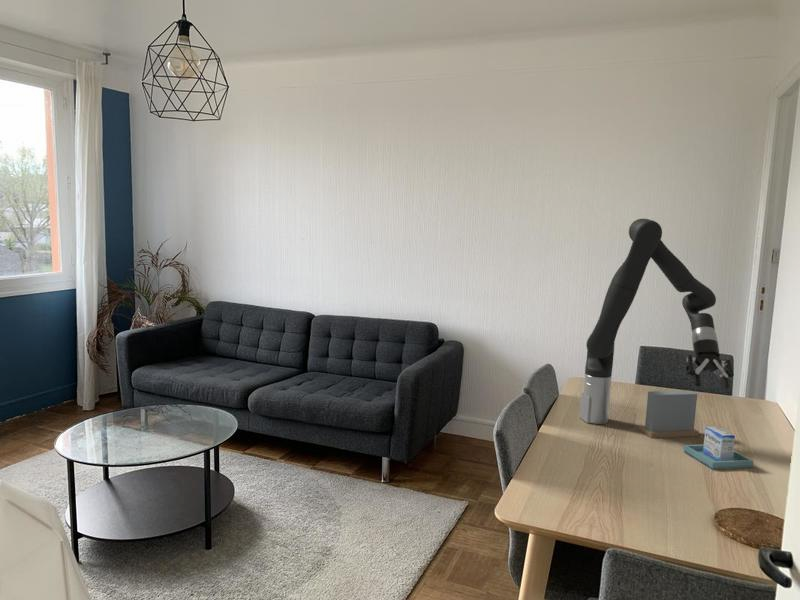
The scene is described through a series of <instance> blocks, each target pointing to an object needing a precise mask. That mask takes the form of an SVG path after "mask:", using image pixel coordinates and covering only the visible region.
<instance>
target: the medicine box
mask: <svg viewBox="0 0 800 600" xmlns="http://www.w3.org/2000/svg"><path fill="white" fill-rule="evenodd" d="M704 431H705V432H704V438H703V440H704V441H703V444H704V447H703V453H704V454H706V455H708V456H709V457H711V458H713V459H715V460H717V461H732V458H733V450H734V448H735V447H734V446H735V439H736V436H735V435H734V434H733V433H730V432H729V431H726V430H725V429H723V428H720V427H718V426H706V427H705V430H704ZM734 451H735V450H734Z"/></svg>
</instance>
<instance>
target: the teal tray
mask: <svg viewBox="0 0 800 600" xmlns="http://www.w3.org/2000/svg"><path fill="white" fill-rule="evenodd" d="M703 447H704V443H703V444H685V445H683V450H682V452H683V453H685V454H686V455H688V456H689V457H691V458H693V459H694V460H696V461H697V462H699V463H701V464H703V465H704V466H705V467H706V468H708V469H710V470H712V471H713V470H731V469H733V470H734V469H752V468H753V466H754V460H753V459H751V458H750V457H748V456H746V455H744V454H742V453H740V452H738V451H737V450H733V458H732V461H717V460H715V459H713V458H711V457H709V456H708V455H706V454H704V453H703Z"/></svg>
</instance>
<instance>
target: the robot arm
mask: <svg viewBox="0 0 800 600" xmlns="http://www.w3.org/2000/svg"><path fill="white" fill-rule="evenodd" d="M662 234H663V230H662V227H661V224H659V223H658V221H656V220H652V219H649V218H638V219H636V220H634V221H633V222H632V223H631V224H630V225H629V229H628V236H629V238H630V240H631V241H632V243H631V246H630V249H629V252H628V254H627V257H626V258H625V260H624V261H623V263H622V264H621V266H619V267H618V269H617V270H616V271H615V274H614V275H613V277H612V279H611V281H610V283H609V285H608V288H607V291H606V293H605V297H604V300H603V303H602V307H601V312H600V315H599V318H598V320H597V323H596V324H595V326H594V328H593V330H592V332H591V333H590V335H589V337H588V338H587V340H586V344H585V345H586V346H585V347H586V350H587V352H586V362H585V367H584V379H583V380H584V382H583V392H581V393H580V394H581V395H580V407H579V418H580V419H581V420H582V421H584V422H585V423H586V424H594V425H595V424H597V425H603V424H607V423H608V422H609V412H610V399H611V387H612V374H613V366H614V355H615V354H614V353H615V341H616V337H617V335H618V331H619V328H620V326H621V324H622V322H623V320H624V318H625V317H626V315H627V313H628V311H629V310H630V308H631V306H632V304H633V302H634V300H635V297H636V295H637V292H638V289H639V287H640V284H641V282H642V280H643V277H644V275H645V272H646V269H647V267H648V264H649V262H650V260H651V259H652V260H653V262H654V263H655V264H656V265H657V267H658V268H659V269H660V271H661V272H662V274H664V277H666V279H667V280H668V281H669V283H670V284H671V285H672V286H673V287H674V289H675V290H676V291H678V293H688V292H689V293H688V294H686V295H684V296H683V298H682V300H681V301H682V302H681V303H682V304H681V305H682V307H683V309H684V311H685V313H686V315H687V317H688V320H689V323H690V327H691V328H690V329H691V339H692V340H691V341H692V342H691V343H692V347H693V354H694V356H692V355H688V356H687V357H686V358H685V359H684V360H685V373H686V375H690V376H692V380H693V384H694V386H695V388H700V387H701V386H702V381H701V375H700V373H701V371H702V372H704V373H705V372H708V373H713V374H715V375H716V376H718V377H719V378H720V385H721V390H722V391H723V392H726V391H727V390H728V389H729V388H730V384H729V380H730V379H731V378H733V377H734V371H733V367H732V361H731V360H730V359H726V360H721V357H720V349H719V342H718V336H717V333H716V329H715V323H714V322H715V321H714V319H713V318H714V317H713V316H712V315H711V314H710V313H706V312H701V311H704V310H708V309H710V308H713V307H714V306H715V305H716V302H717V297H716V294H715V293H714V291H712V290H711V288H710V287H708V286H706V285H705V284H703V283H702V282H701V281H700V280H698V279H697V278H696V277H694V275H693V273H691V272H690V270H689V269H688V268H687V267H686V265H685V264H684V263H683V262H682V261H681V260H680V259H679V258H678V257H677V256H676V255H675V254H674V253H673V252H672V251H671V250H670V249H669V248H668V247H667V245H666V244H665V243H664V242H663V241H662V236H663V235H662ZM694 363H695V364H696V366H697V367H696V368H695V370H694ZM721 365H722V366H721Z"/></svg>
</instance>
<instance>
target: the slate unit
mask: <svg viewBox="0 0 800 600" xmlns="http://www.w3.org/2000/svg"><path fill="white" fill-rule="evenodd" d="M697 400H698V393H696V392H694V391H692V390H663V391H662V390H659V391H651V390H650V391H648V392H647V399H646V401H647V403H646V413H645V422H644V425H639V431H640V432H641V433H644V434H645V435H647V436H648V437H649V438H672V437H673V438H675V437H677V438H678V437H698V436H700V431H699V430H697V429H695V421H696V413H697V412H696V410H697V402H698V401H697Z"/></svg>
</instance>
